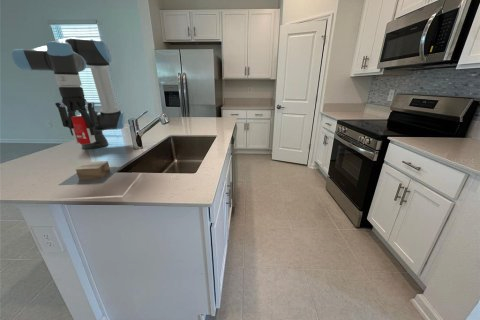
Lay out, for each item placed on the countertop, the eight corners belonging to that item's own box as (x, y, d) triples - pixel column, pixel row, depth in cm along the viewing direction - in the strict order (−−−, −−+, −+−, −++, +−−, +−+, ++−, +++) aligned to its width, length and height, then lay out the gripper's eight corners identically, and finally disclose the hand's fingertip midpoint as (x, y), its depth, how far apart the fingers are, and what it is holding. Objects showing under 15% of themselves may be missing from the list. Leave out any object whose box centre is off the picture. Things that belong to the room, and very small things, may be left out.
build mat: (84, 169, 101) (83, 168, 101) (121, 167, 103) (121, 166, 103) (58, 186, 84) (58, 185, 84) (104, 184, 86) (103, 183, 86)
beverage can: (76, 143, 87) (68, 115, 82) (89, 140, 91) (82, 114, 87) (82, 145, 85) (74, 116, 80) (95, 142, 89) (88, 115, 85)
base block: (90, 171, 97) (87, 161, 95) (110, 170, 98) (107, 161, 96) (78, 179, 89) (75, 169, 87) (100, 178, 90) (97, 168, 88)
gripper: (37, 86, 75) (57, 145, 83) (89, 86, 77) (103, 144, 85) (52, 86, 82) (69, 140, 90) (99, 86, 84) (112, 139, 92)
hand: (86, 142), depth 88 cm, fingers closed on beverage can, 5 cm apart
